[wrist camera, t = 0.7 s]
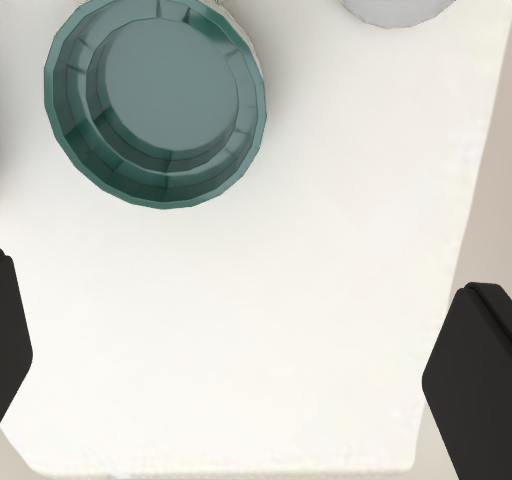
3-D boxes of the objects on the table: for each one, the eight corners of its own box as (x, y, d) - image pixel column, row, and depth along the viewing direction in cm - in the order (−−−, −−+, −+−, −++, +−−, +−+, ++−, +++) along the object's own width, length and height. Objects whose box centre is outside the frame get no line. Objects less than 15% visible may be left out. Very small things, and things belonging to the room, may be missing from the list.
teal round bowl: (32, 39, 32) (-5, 51, 27) (211, -57, 29) (204, -62, 25) (137, 203, 39) (121, 235, 34) (291, 138, 36) (297, 163, 31)
